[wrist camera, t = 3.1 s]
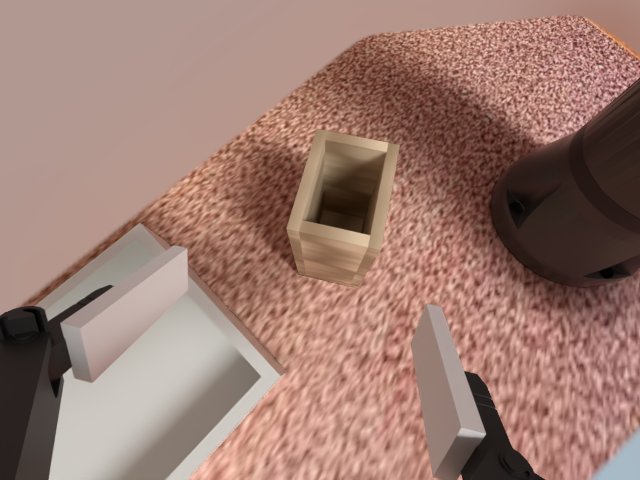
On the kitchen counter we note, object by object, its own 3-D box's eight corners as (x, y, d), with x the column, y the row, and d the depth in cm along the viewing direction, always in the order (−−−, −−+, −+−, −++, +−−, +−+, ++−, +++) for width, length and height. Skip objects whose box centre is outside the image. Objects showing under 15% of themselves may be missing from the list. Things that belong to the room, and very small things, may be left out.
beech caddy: (371, 216, 32) (399, 144, 21) (357, 288, 29) (380, 250, 18) (317, 205, 33) (316, 128, 21) (298, 274, 30) (286, 228, 19)
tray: (287, 371, 27) (280, 376, 22) (90, 588, 22) (27, 653, 17) (166, 241, 31) (139, 222, 26) (-21, 397, 26) (-96, 407, 21)
